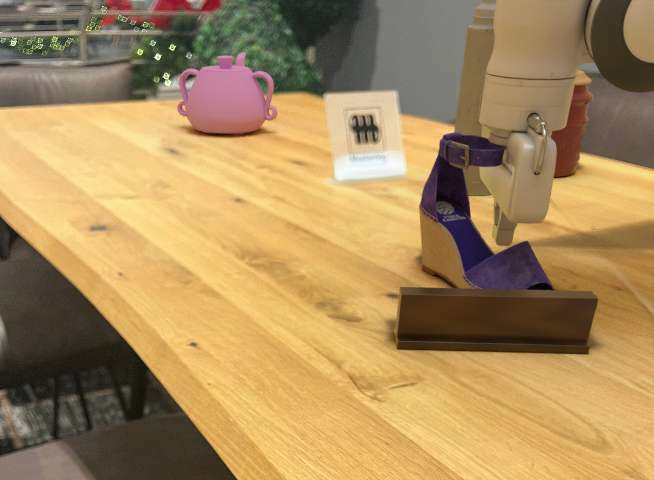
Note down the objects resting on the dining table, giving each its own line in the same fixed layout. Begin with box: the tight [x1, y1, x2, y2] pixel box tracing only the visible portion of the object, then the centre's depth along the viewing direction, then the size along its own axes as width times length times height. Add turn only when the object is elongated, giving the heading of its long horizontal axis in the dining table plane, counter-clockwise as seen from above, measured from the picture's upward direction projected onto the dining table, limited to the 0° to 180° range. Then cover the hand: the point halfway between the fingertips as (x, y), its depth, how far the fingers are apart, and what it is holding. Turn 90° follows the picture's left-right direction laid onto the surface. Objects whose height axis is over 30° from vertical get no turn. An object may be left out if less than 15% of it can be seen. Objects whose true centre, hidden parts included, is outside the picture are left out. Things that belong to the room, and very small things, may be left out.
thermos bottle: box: [453, 0, 496, 196], centre depth 114 cm, size 8×8×28 cm
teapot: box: [176, 51, 278, 136], centre depth 161 cm, size 22×22×14 cm
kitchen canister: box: [551, 69, 594, 178], centre depth 129 cm, size 13×13×18 cm
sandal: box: [418, 132, 556, 290], centre depth 82 cm, size 8×20×15 cm, turn 28°
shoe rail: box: [393, 286, 599, 354], centre depth 72 cm, size 18×4×5 cm, turn 87°
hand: (501, 242), depth 86 cm, fingers closed
